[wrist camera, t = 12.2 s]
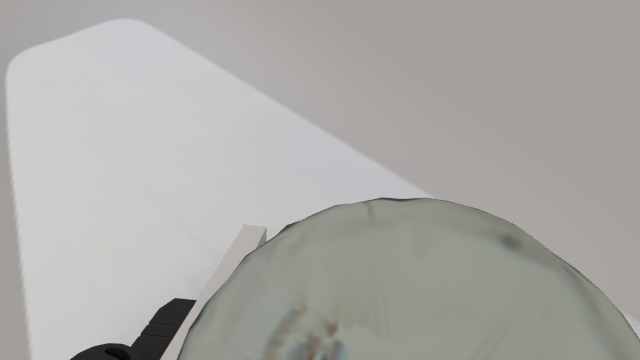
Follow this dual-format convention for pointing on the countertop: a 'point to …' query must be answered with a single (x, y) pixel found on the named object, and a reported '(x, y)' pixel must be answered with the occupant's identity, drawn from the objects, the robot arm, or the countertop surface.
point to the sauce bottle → (407, 293)
